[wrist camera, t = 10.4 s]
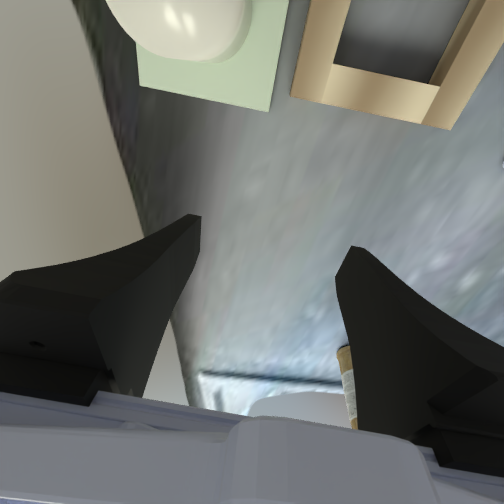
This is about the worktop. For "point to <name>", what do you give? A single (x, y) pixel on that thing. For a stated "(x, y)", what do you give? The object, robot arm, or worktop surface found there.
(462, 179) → the worktop surface
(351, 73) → the collar
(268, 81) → the sage board
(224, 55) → the jug
